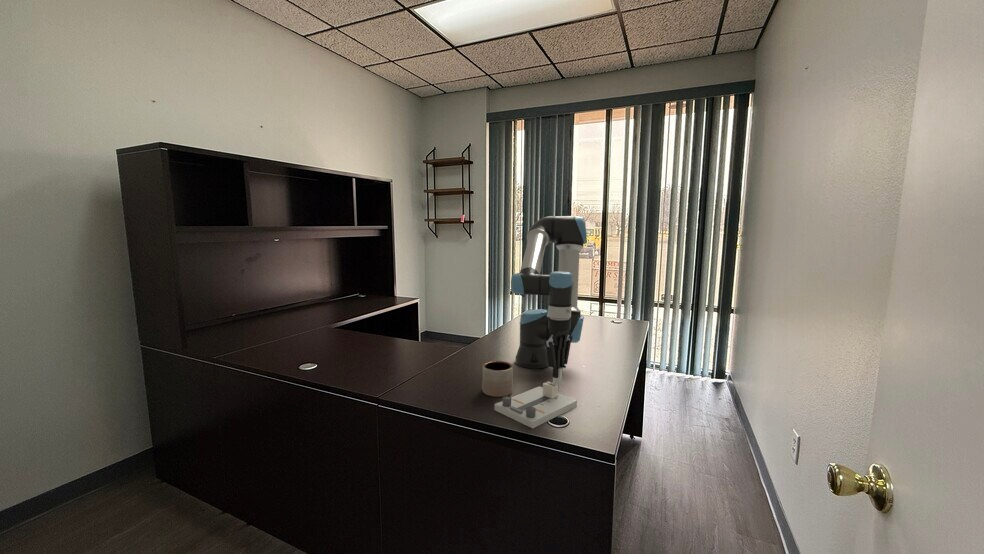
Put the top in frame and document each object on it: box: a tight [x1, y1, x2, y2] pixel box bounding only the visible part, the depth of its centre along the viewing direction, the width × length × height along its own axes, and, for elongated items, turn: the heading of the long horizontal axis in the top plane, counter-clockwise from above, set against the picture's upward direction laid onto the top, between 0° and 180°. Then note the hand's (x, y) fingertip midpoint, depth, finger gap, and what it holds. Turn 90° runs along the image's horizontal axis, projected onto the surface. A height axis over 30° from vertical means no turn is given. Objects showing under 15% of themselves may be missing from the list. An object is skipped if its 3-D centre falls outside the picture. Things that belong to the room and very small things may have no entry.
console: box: [494, 386, 578, 429], centre depth 126 cm, size 16×22×4 cm
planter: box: [481, 360, 514, 398], centre depth 139 cm, size 11×11×10 cm
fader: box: [542, 381, 559, 399], centre depth 131 cm, size 4×3×4 cm
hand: (557, 386), depth 133 cm, fingers closed
